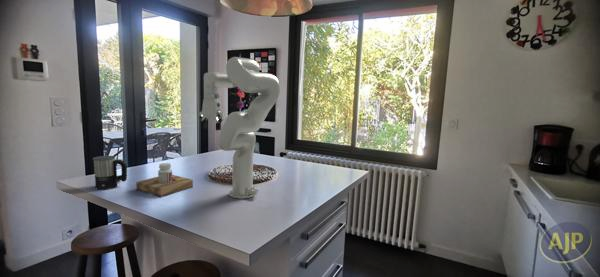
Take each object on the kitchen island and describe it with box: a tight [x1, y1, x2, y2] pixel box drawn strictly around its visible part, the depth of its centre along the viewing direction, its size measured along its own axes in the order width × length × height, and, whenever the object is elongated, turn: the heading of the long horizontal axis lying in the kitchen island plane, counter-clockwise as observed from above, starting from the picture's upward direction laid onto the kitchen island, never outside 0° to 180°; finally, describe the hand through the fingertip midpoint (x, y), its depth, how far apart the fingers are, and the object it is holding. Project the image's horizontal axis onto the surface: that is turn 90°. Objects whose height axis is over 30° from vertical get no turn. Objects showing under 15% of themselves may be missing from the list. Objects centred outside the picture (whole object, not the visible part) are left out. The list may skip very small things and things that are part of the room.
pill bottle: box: [157, 162, 173, 184], centre depth 143 cm, size 6×6×11 cm
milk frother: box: [92, 155, 128, 190], centre depth 146 cm, size 14×16×15 cm
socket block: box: [135, 174, 194, 198], centre depth 144 cm, size 18×18×4 cm
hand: (211, 129), depth 156 cm, fingers open, 9 cm apart
